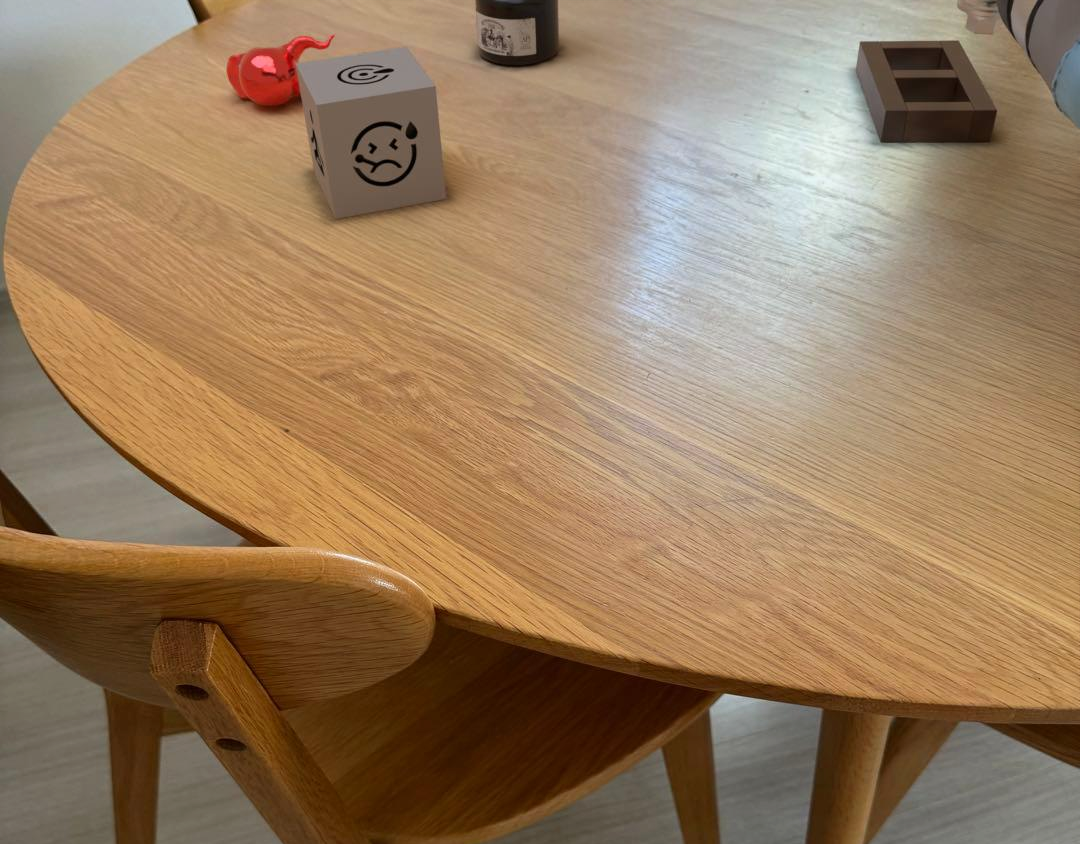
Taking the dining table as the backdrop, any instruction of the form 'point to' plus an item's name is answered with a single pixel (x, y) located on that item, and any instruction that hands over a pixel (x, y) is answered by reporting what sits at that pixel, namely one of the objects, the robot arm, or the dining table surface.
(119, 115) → the dining table surface
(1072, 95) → the robot arm
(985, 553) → the dining table surface
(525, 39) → the ink bottle
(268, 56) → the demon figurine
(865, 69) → the brown divided frame
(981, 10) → the screw
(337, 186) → the icon cube
